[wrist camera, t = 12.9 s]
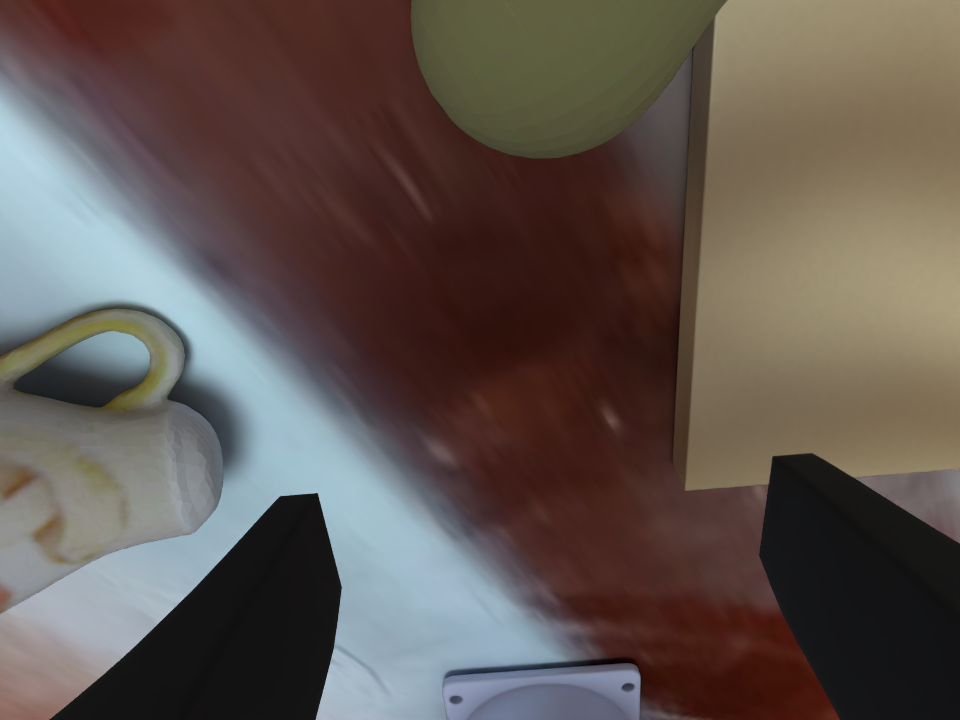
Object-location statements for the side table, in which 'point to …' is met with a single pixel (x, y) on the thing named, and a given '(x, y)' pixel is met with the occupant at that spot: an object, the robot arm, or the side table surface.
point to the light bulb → (552, 66)
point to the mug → (98, 461)
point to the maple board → (821, 241)
